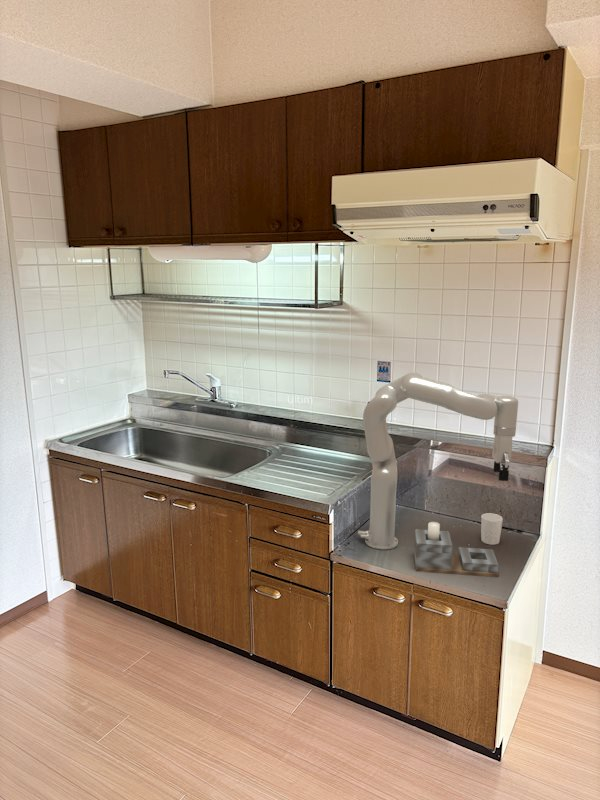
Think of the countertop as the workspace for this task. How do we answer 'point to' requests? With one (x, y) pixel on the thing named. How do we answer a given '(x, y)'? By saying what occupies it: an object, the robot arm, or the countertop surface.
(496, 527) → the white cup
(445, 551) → the socket board
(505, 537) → the countertop surface
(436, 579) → the countertop surface
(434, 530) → the peg
